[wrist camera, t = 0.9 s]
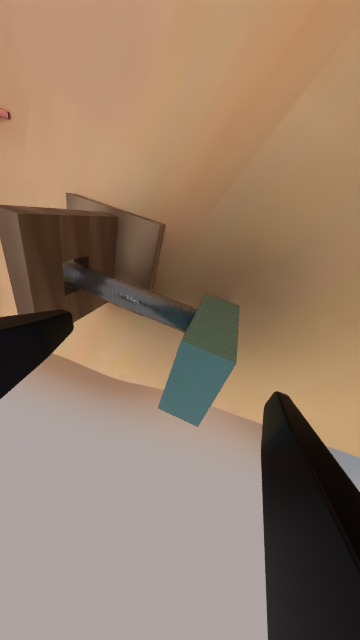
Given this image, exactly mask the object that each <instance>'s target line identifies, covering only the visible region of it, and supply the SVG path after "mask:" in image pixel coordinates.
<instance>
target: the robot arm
mask: <svg viewBox="0 0 360 640" xmlns="http://www.w3.org/2000/svg"><path fill="white" fill-rule="evenodd" d="M73 328H74V326H73V316H72V313H71V312H69V311H66V310H64V309H59V310H51V311H44V312H36V313H29V314H21V315H14V316H6V317H0V399H1V398H2V397H3V396H4V395H6V394H7V393H8V392H9V391H10V390H11V389H12V388H14V387H15V386H16V385H17V384H18V383H19V382H20V381H22V380H23V379H24V378H25V377H26V376H27V375H28V374H30V373H31V372H32V371H33V370H34V369H35V368H36V367H37V366H39V365H40V364H41V363H42V362H43V361H44V360H45V359H46V358H47V357H48V356H50V355H51V354H52V352H53V351H54V350H55V349H56V348H57V347H58V346H59V345H60V344H61V343H62V342H63V341H64V340H65V339H66V338H67V337H68V336H69V335H70V333H71V332H72V331H73ZM261 466H262V467H261V468H262V494H263V521H264V546H265V573H266V599H267V624H268V640H360V492H359V490H358V489H357V488H356V487H355V485H354V484H353V482H352V481H351V480H350V478H349V477H348V476H347V474H346V473H345V472H344V470H343V469H342V467H341V466H340V465H339V464H338V462H337V461H336V459H335V458H334V457H333V455H332V454H331V453H330V451H329V450H328V449H327V447H326V446H325V445H324V443H323V442H322V441H321V439H320V438H319V436H318V435H317V434H316V432H315V431H314V430H313V428H312V427H311V426H310V424H309V423H308V422H307V420H306V419H305V418H304V416H303V415H302V414H301V412H300V411H299V410H298V408H297V407H296V405H295V404H294V403H293V401H292V400H291V399H290V397H289V396H288V395H286V394H283V393H281V392H278V391H276V392H274V393H273V394H272V396H271V397H270V398H269V400H268V401H267V402H266V404H265V406H264V414H263V428H262V441H261Z"/></svg>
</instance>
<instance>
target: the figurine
mask: <svg viewBox="0 0 360 640" xmlns="http://www.w3.org/2000/svg"><path fill="white" fill-rule="evenodd" d="M0 116H2V117H4V118H7V119H8V113H7V111H6V110H3V109H1V108H0Z"/></svg>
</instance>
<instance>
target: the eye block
mask: <svg viewBox="0 0 360 640" xmlns="http://www.w3.org/2000/svg"><path fill="white" fill-rule="evenodd" d="M66 200H67V209H56V208H41V207H26V206H10V205H0V239H1V243H2V247H3V252H4V256H5V260H6V264H7V269H8V273H9V277H10V282H11V286H12V290H13V294H14V299H15V303H16V307H17V312H18V315H21V314H29V313H36V312H44V311H51V310H59V309H64V310H66V311H69V312H71V313H72V316H73V323H74V322H75V321H77V320H79V319H80V318H82V317H84V316H85V315H87V314H89V313H90V312H92V311H94V310H96V309H97V308H99V307H101V306H102V305H104V304H106V303H107V302H109V301H107V300H104V299H102V298H99V297H97V296H95V295H92V294H90V293H87V292H85V291H82V290H80V289H78V288H75V287H73V286H70V285H68V284H65V283H64V280H63V266H62V262H65V261H69V260H73V261H75V262H78V263H80V264H83V265H85V266H88V267H90V268H93V269H96V270H98V271H101V272H103V273H106V274H108V275H111V276H113V277H116V278H119V279H121V280H124V281H126V282H129V283H131V284H134V285H136V286H139V287H142V288H144V289H147V290H149V291H152V286H153V281H154V276H155V271H156V266H157V261H158V256H159V251H160V246H161V241H162V236H163V231H164V226H165V225H164V224H162V223H159V222H156V221H153V220H150V219H147V218H144V217H141V216H138V215H135V214H132V213H129V212H126V211H123V210H120V209H117V208H115V207H112V206H109V205H106V204H103V203H100V202H97V201H94V200H91V199H88V198H85V197H82V196H79V195H76V194H71V193H66ZM110 303H112V302H110ZM112 304H114V303H112ZM115 305H117V304H115ZM117 306H119V305H117ZM119 307H121V306H119ZM122 308H124V307H122ZM124 309H126V308H124ZM127 310H129V309H127ZM129 311H131V310H129ZM132 312H134V311H132ZM134 313H136V312H134ZM136 314H138V313H136ZM139 315H141V314H139ZM141 316H143V315H141Z"/></svg>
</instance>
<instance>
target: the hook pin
mask: <svg viewBox="0 0 360 640" xmlns="http://www.w3.org/2000/svg"><path fill="white" fill-rule="evenodd" d="M62 266H63V280H64V283H65V284H68V285H70V286H73V287H75V288H78V289H80V290H82V291H85V292H87V293H90V294H92V295H95V296H97V297H99V298H102V299H104V300H107V301H109V302H112V303H114V304H117V305H119V306H121V307H124V308H126V309H129V310H131V311H134V312H136V313H138V314H141V315H143V316H146V317H148V318H151V319H153V320H155V321H158V322H160V323H163V324H165V325H168V326H170V327H173V328H175V329H177V330H180V331H182V332H185V335H184V337H183V339H182V340H181V343H180V346H179V349H178V352H177V355H176V358H175V360H174V363H173V366H172V369H171V372H170V375H169V378H168V381H167V383H166V386H165V389H164V392H163V395H162V398H161V401H160V403H159V407H158V408H159V409H161V410H163V411H165V412H167V413H169V414H172V415H174V416H176V417H178V418H180V419H182V420H184V421H187V422H188V423H191V424H193V425H195V426H197V427H198V425H199V424H200V423H201V421H202V419H203V418H204V416H205V414H206V413H207V411H208V409H209V408H210V406H211V404H212V403H213V401H214V399H215V398H216V396H217V394H218V393H219V391H220V389H221V388H222V386H223V384H224V383H225V381H226V380H227V378H228V376H229V375H230V373H231V371H232V370H233V368H234V366H235V365H236V358H237V341H238V323H239V306H238V305H235V304H233V303H230V302H227V301H225V300H222V299H219V298H217V297H214V296H211V295H209V294H206V295H205V297H204V299H203V300H202V302H201V304H200V306H199V308H198V309H195V308H193V307H190V306H188V305H185V304H182V303H180V302H177V301H175V300H172V299H170V298H167V297H165V296H162V295H159V294H157V293H154V292H152V291H149V290H147V289H144V288H142V287H139V286H136V285H134V284H131V283H129V282H126V281H124V280H121V279H119V278H116V277H113V276H111V275H108V274H106V273H103V272H101V271H98V270H96V269H93V268H90V267H88V266H85V265H83V264H80V263H78V262H75V261H73V260H69V261H65V262H62Z"/></svg>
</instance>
